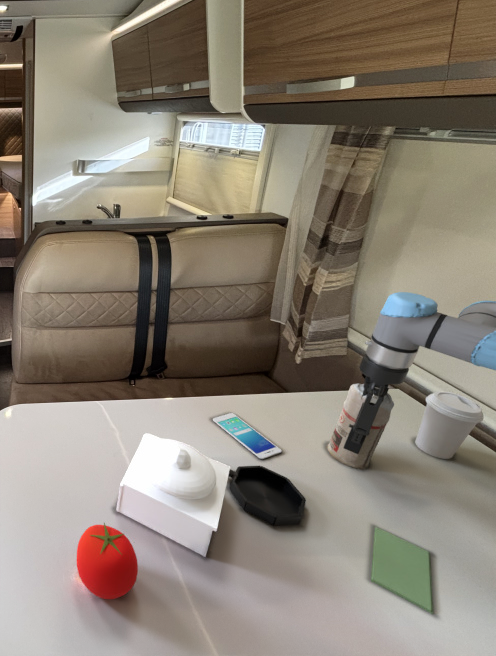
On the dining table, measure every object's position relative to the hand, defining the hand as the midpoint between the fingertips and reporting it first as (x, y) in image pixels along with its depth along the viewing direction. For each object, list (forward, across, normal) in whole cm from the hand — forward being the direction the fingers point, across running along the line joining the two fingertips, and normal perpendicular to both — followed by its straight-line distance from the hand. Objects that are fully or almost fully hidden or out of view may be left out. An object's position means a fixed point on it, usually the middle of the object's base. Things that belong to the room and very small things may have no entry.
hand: (352, 439), depth 102 cm
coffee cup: (+6, -17, +16) cm, 24 cm away
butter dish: (+5, +42, -26) cm, 50 cm away
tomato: (+5, +66, -29) cm, 73 cm away
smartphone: (+6, +9, -20) cm, 23 cm away
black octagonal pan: (+5, +27, -16) cm, 32 cm away
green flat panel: (+5, +27, +10) cm, 29 cm away
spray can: (+6, 0, 0) cm, 6 cm away
